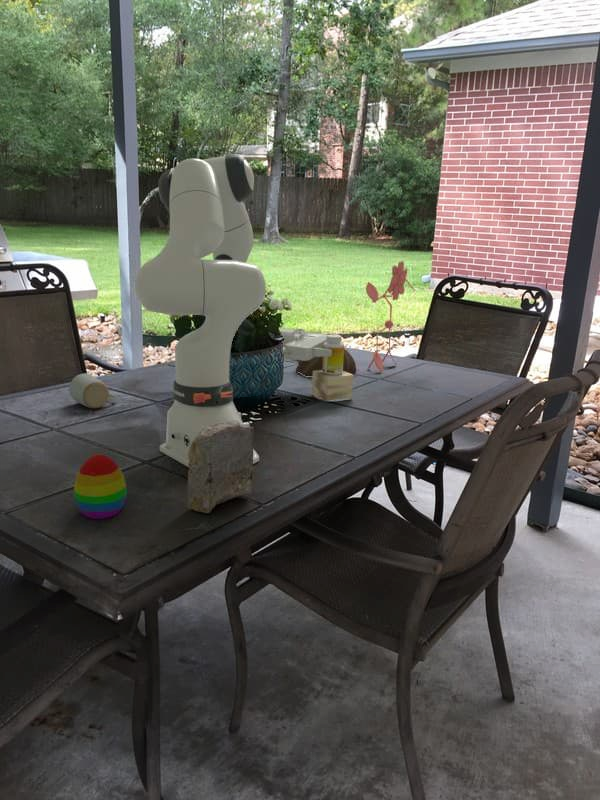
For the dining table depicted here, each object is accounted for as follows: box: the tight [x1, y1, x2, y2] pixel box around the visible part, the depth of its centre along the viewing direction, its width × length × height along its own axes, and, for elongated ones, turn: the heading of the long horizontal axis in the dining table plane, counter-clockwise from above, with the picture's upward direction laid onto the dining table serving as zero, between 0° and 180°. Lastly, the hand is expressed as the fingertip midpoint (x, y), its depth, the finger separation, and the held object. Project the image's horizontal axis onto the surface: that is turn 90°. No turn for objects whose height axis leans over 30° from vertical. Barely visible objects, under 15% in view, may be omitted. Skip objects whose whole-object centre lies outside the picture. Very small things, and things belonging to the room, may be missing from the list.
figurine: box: [365, 260, 416, 373], centre depth 211 cm, size 15×26×35 cm, turn 147°
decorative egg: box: [73, 453, 127, 520], centre depth 108 cm, size 8×8×10 cm
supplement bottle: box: [322, 334, 345, 375], centre depth 178 cm, size 6×6×10 cm
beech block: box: [311, 370, 354, 401], centre depth 180 cm, size 8×8×7 cm
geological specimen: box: [187, 420, 255, 514], centre depth 111 cm, size 11×6×15 cm, turn 141°
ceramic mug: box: [68, 373, 118, 409], centre depth 167 cm, size 11×8×8 cm
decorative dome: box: [295, 348, 358, 376], centre depth 209 cm, size 19×20×10 cm
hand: (337, 349), depth 177 cm, fingers open, 8 cm apart
